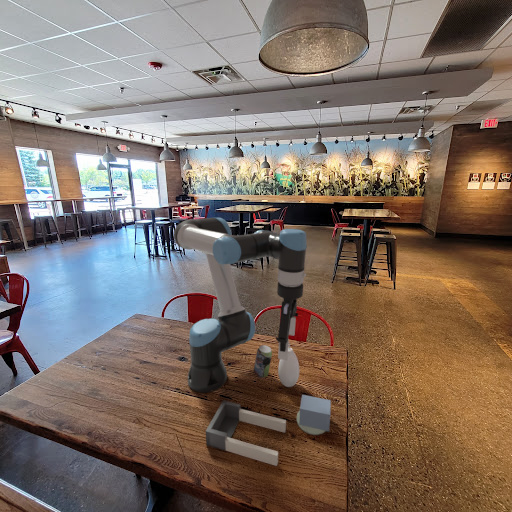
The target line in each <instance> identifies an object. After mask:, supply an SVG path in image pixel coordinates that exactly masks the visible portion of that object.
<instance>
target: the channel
mask: <svg viewBox="0 0 512 512" xmlns="http://www.w3.org/2000/svg"><path fill="white" fill-rule="evenodd" d="M239 422H242V423H247V424H251V425H255V426H259V427H262V428H266V429H270V430H273V431H277V432H282V433H284V434H285V433H286V430H287V420H286V419H283V418H280V417H275V416H270V415H267V414H262V413H260V412H259V413H258V412H255V411H251V410H247V409H243V408H240V410H239ZM225 448H226V452H230V453H233V454H236V455H238V456H239V455H240V456H243V457H246V458H248V459H253V460H255V461H259V462H261V463H266V464H269V465H272V466H276V467H278V464H279V451H276V450H273V449H270V448H267V447H262V446H260V445H256V444H253V443H249V442H245V441H241V440H239V439H236V438H229V437H227V438H226V440H225Z"/></svg>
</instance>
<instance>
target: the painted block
mask: <svg viewBox="0 0 512 512" xmlns="http://www.w3.org/2000/svg"><path fill="white" fill-rule="evenodd" d="M331 406H332V405H331V399H326V398H322V397H321V398H320V397H315V396H311V395H305V394H301V398H300V406H299V411H300V420H299V425H303V426H307V427H312V428H316V429H320V430H325V431H326V432H330V426H331V425H330V424H331Z"/></svg>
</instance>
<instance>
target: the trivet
mask: <svg viewBox="0 0 512 512" xmlns="http://www.w3.org/2000/svg"><path fill="white" fill-rule="evenodd" d="M299 420H300V410H299V411H298V412H297V414H296V423H297V426H298V427H299V429H301V430H302V432H304V433H306V434H309V435H311V436H320V435H322V434H324V433H326V432H327V431H325V430H320V429H316V428H312V427H307V426H303V425H299Z"/></svg>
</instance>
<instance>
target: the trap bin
mask: <svg viewBox="0 0 512 512" xmlns="http://www.w3.org/2000/svg"><path fill="white" fill-rule="evenodd" d="M240 409H241V404H240V403H236V402H231V401H227V400H224V399H223V400H222V402H221V404H220V405H219V406H218V409H217V411H216V412H215V414H214V415H213V417H212V420H211V421H210V422H209V425H208V426H207V428H206V430H205V442H206V446H208V447H211V448H213V449H218V450H221V451H226V448H225V440H226V438H227V437H229V438H232V437H233V436H234V433H235V430H236V428H237V426H238V424H239V422H240V421H239V410H240ZM232 439H233V438H232ZM226 452H227V451H226Z"/></svg>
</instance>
